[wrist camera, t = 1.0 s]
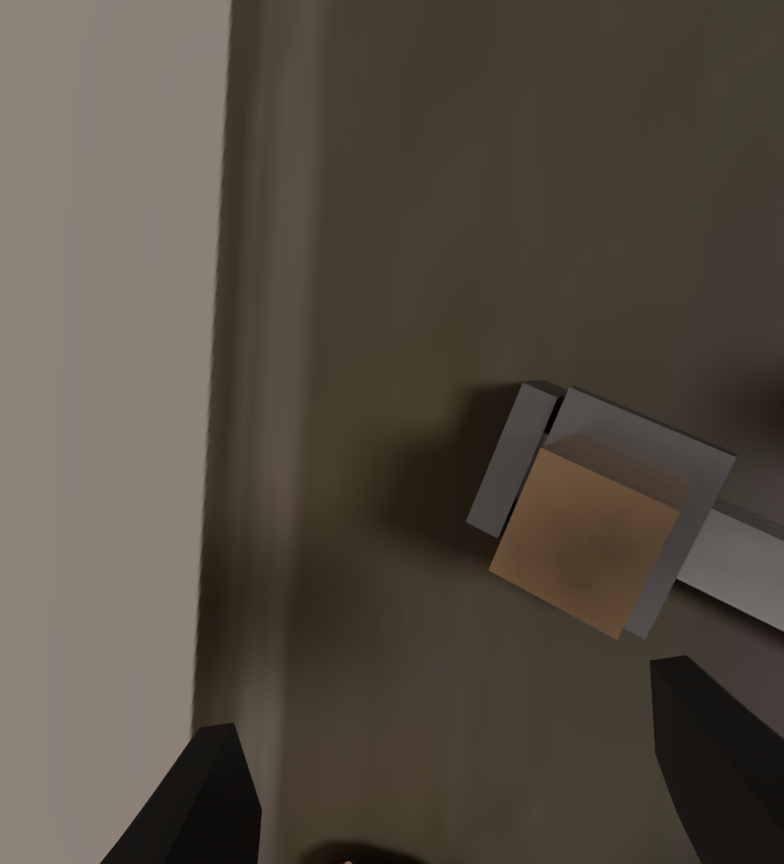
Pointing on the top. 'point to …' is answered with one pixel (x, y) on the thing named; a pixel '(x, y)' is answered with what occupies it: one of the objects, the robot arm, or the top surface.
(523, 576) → the carriage
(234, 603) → the top surface
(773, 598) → the rail
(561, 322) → the top surface
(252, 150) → the top surface
